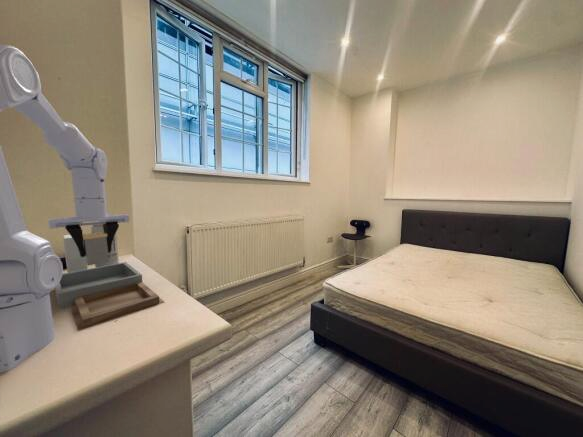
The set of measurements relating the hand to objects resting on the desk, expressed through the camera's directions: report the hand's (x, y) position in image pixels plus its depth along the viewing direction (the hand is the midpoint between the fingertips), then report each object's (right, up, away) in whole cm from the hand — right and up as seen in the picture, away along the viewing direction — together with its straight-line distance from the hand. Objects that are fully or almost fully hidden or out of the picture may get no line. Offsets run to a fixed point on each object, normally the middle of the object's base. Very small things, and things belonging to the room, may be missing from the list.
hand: (95, 254), depth 57 cm
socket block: (+11, -10, -7) cm, 16 cm away
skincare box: (-14, -8, +11) cm, 19 cm away
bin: (0, -9, +1) cm, 9 cm away
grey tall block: (0, -2, 0) cm, 2 cm away
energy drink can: (-11, -7, +18) cm, 23 cm away
